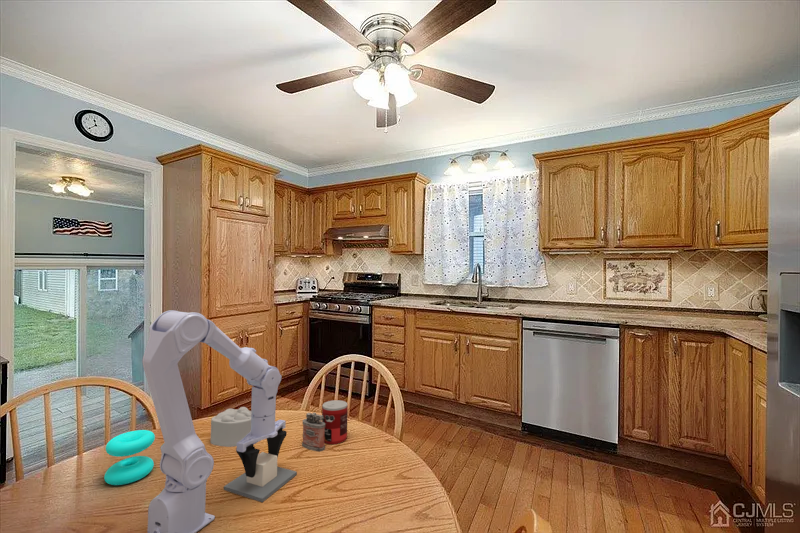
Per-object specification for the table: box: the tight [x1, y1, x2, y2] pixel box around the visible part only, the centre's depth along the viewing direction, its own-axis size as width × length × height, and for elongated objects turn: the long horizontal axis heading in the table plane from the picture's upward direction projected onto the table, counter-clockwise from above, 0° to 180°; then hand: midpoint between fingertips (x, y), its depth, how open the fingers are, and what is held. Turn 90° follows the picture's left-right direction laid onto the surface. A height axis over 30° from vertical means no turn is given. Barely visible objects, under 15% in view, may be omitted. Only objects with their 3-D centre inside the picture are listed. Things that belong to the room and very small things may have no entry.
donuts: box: [103, 429, 156, 486], centre depth 88 cm, size 10×10×10 cm
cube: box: [247, 451, 278, 487], centre depth 86 cm, size 5×5×5 cm
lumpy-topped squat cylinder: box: [209, 406, 251, 448], centre depth 109 cm, size 10×13×9 cm
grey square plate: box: [223, 465, 298, 503], centre depth 86 cm, size 12×12×1 cm
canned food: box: [321, 399, 349, 445], centre depth 109 cm, size 8×8×11 cm
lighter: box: [301, 412, 326, 452], centre depth 104 cm, size 8×3×10 cm, turn 62°
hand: (261, 468), depth 86 cm, fingers open, 7 cm apart
